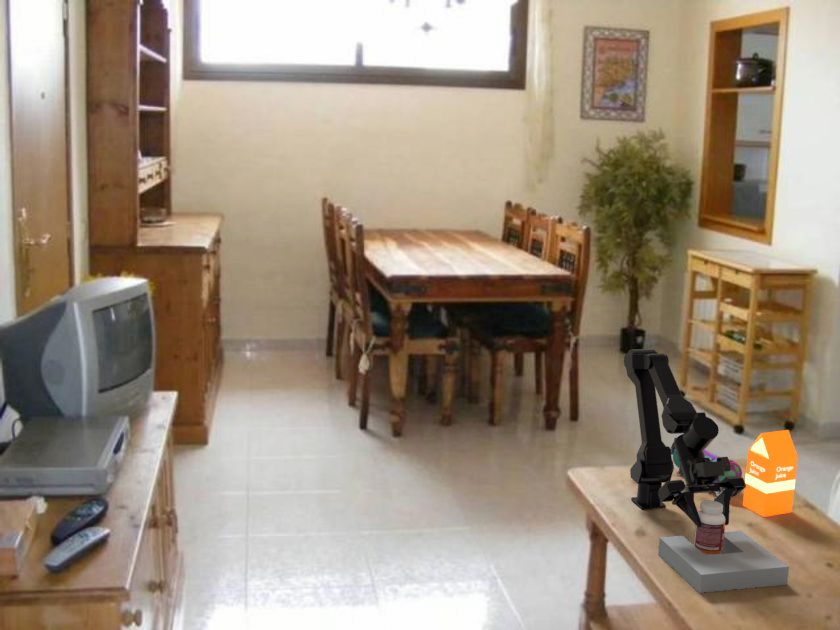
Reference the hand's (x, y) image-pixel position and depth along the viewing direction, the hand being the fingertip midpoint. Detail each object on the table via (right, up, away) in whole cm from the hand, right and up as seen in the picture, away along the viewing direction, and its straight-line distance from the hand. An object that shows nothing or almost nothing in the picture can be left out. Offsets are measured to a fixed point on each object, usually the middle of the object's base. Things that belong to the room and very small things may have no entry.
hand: (713, 525), depth 213 cm
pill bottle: (0, -6, +3) cm, 7 cm away
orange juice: (+22, -3, +31) cm, 38 cm away
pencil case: (+12, +1, +49) cm, 50 cm away
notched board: (+1, -9, -2) cm, 9 cm away
